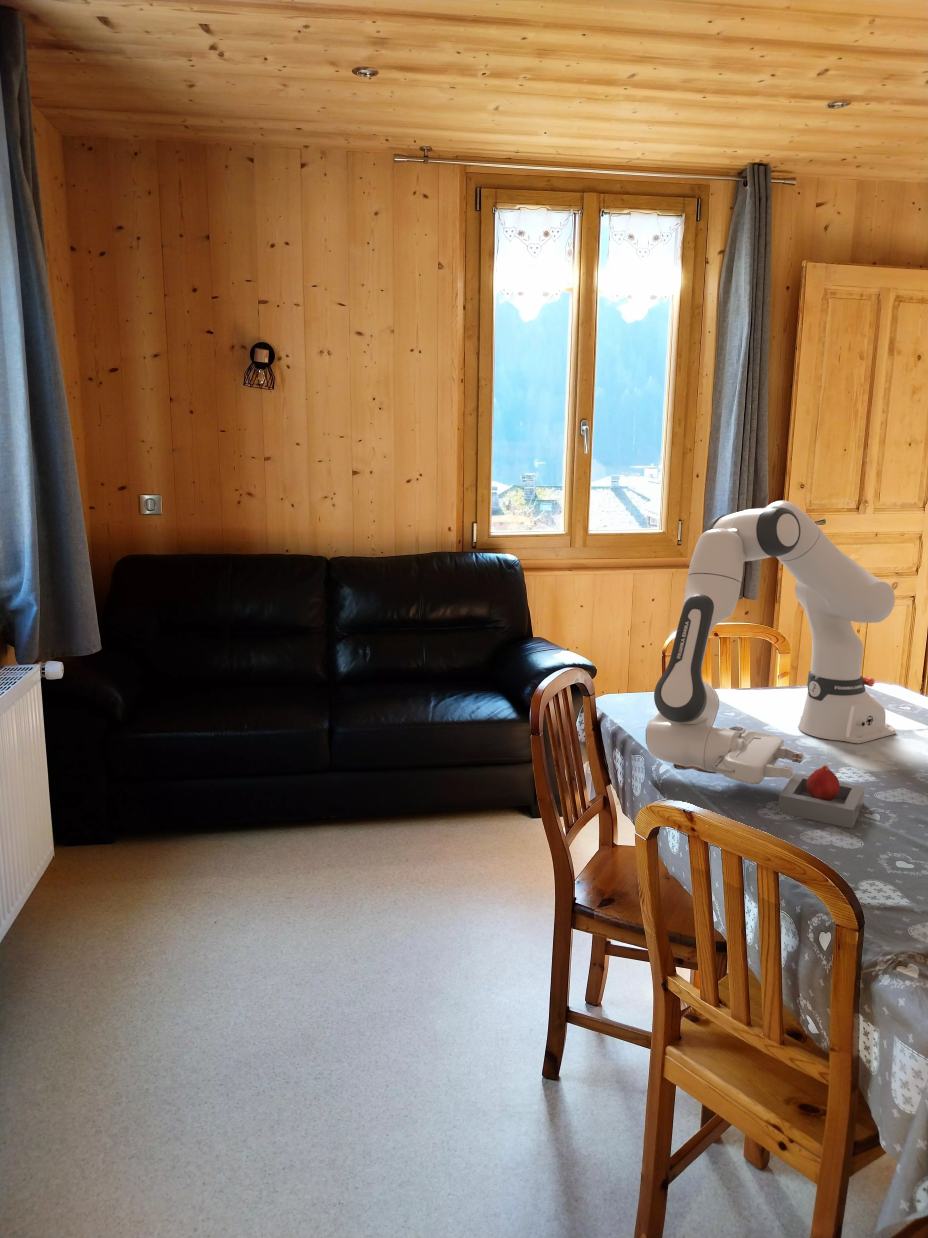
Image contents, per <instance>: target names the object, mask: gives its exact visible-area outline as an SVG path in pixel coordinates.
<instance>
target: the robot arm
mask: <svg viewBox="0 0 928 1238" xmlns="http://www.w3.org/2000/svg"><path fill="white" fill-rule="evenodd" d="M768 558H776V559H777V560H778V561H779V562H780V563H781V564H782V565H783V567H785V568H786V570H787V571H788V572H789V573H790V574H791V575H792V577H794V579H795V580H796V582H795V585H794V595H795V598H796V599H797V601H798V602H799V604H800V605H801V606H802V609H803V610H804V612H805V615H806V617H807V620H808V625H809V629H810V633H811V641H812V642H811V645H812V646H811V659H810V660H811V661H810V670H809V671H808V675H807V682H806V683H807V684H806V686H807V694H806V697H805V702H804V707H803V712H802V715H801V716H800V720H799V724H798V726H797V727H798V729H799V730H800V731H801V732H803V733H804V734H807V735H810V736H812V737H816V738H820V739H825V740H831V741H840V742H841V741H843V742H848V743H851V744H863V743H867V742H869V741H873V740H876V739H878V740H879V739H880V738H884V737H887V736H888V737H889V736H891V735H895V734H896V728H895V727H893V726H892V725H890V724H889V723H887V722H886V721H887V719H886V717H887V716H886V710H885V708H884V706H883V705H882V704H881V703H880V702H879V701H877V700H876V699H875V698H874V697H873V696H871V694H870V693H868V692H867V691H866V686H867V687H870V688H872V687H874V685H875V683H876V680H875V678H873V677H869V676H865V677H864V676H862V667H863V666H862V665H863V658H864V655H863V654H864V644H863V642H862V640H861V639H860V637H859V636H858V635H857V634H856V632H855V630H854V627H853V625H852V622H853V623H858V624H859V623H860V624H861V623H862V624H863V623H864V624H877V623H881V622H882V621H883V622H884V620H886V619H887V617H889V616H890V614H891V613H892V611H893V609H894V607H895V603H896V597H895V592H894V589H893V587H892V585H890V584H889V583H888V582H886V581H884V580H882V579H880V578H878V577H877V576H875V575H874V574H873V573H871V572H870V571H868V570H866V569H865V568H864V567H862V566H861V565H860V564H859V563H858V562H856V561H855V560H853V558H851V557H849V555H847V554H846V553H844V552H843V551H841V550H840V549H839V548H838V546H836V545H835V544H834V543H833V542H832V541H831V539H829V537H828V536H827V535H826V533H824V531H823V529H821V528H820V527H819V526H818V524H816V522H815V521H814V520H813V519H812V518H811V517H810V516H809V515H808V514H807V513H806V512H805V511H804V510H802V509H801V508H799V506H797V505H796V504H794V503H793V502H791V501H788V500H785V499H784V500H783V499H782V500H777V501H774V502H771V503H770V504H768V505H766V506H765V507H758V508H757V507H756V508H747V509H743V510H742V511H741V510H740V511H737V512H733V513H730V514H722V515H720V516H717V517H715V518H713V519H712V520H710V521H709V522H708V524H707V525H706V527H705V530H704V532H703V533H701V535H700V536H699V537H698V540H697V542H696V545H695V548H694V550H693V553H692V556H691V560H690V563H689V567H688V572H687V577H686V582H685V589H684V597H683V604H682V609H681V615H680V617H679V620H678V625H677V629H676V633H675V638H674V642H673V645H672V650H671V654H670V658H669V661H668V664H667V667H666V668H665V670H664V672H663V673H662V675H661V676H660V678H659V679H658V680H657V683H656V685H655V688H654V692H653V693H654V694H653V700H654V701H653V702H654V704H655V705H654V706H655V707H656V709H657V711H658V713H657V715H655V717H653V718H652V719H650V720H649V721H648V723H647V726H646V728H645V744H646V747H647V751H648V752H649V753H650V754H651V756H652V757H655V759H658V760H660V761H663V762H666V763H670V764H673V765H674V764H677V765H682V766H696V767H699V768H701V769H703V770H706V771H711V772H716V773H715V774H721V775H723V776H724V777H725V778H728V779H732V780H734V781H738V782H742V783H746V784H749V785H750V784H751V785H759V784H761V782H762V781H763V780H764V779H765V778H768V779H769V778H770V779H771V778H785V779H791V777H792V776H793V775H794V768H793V767H792V766H788V765H786V766H785V765H783V766H775V764H776V763H777V762H778V761H779V760H780V759H783V760H785V759H786V760H790V761H791V762H792V763H798V764H801V763H803V761H804V757H805V756H804V753H803V752H801V751H796V750H793V749H791V748H789V747H787V746H784V745H785V743H784V742H785V741H784V739H783V738H781V737H779V736H777V735H774V734H770V733H765V732H761V731H757V730H746V727H745V726H741V725H737V726H731V727H728V728H725V727H724V728H723V727H722V728H720V727H719V728H718V727H714V723H715V721H716V718H717V715H718V713H719V708H720V699H719V694H718V693H717V691H716V690H715V688H714V687H713V686H712V685H710V684H709V683H708V682H705V681H704V678H703V675H702V672H703V671H702V669H703V666H704V665H703V664H704V661H705V656H706V652H707V651H706V650H707V646H708V643H709V638H710V636H711V632H712V631H713V629H714V628H715V627H716V626H717V625H718V624H719V623H721V622H724V621H725V620H727V619H729V618H730V617H732V615H733V614H734V611H735V609H736V607H737V604H738V601H739V597H740V592H741V588H742V581H743V575H744V573H743V572H744V563H745V562H752V561H754V562H755V561H757V560H763V559H768ZM865 685H866V686H865Z"/></svg>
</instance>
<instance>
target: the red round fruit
mask: <svg viewBox="0 0 928 1238" xmlns="http://www.w3.org/2000/svg"><path fill="white" fill-rule="evenodd" d="M808 776H809V778H808V780H807V789H808V792H809V794H810V795H811V796H812V797H813V798H816V799H821V800H826V801H831V800H832V799H834V798H835V797H836V796H837V795H838V794H839V791H840V785H839V782H840V781H839V778H838V777H837V775H836V774H835V773H834V772H833V771H832V770H830V769H829V766H828V765H827V764H824V765H822V766H821V767H819V768H817V769H815V770H814V771H813V772H812V773H811V774H810V775H808Z"/></svg>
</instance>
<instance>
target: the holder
mask: <svg viewBox="0 0 928 1238" xmlns="http://www.w3.org/2000/svg"><path fill="white" fill-rule="evenodd" d="M809 776H810V775H807V774H802V773H801V774H800V773H795V772H793V775H792V776H791V778H789V780H788V782H786V785H785V786H784V788H783V789H782V790H781V792H780V793H779V795H778V805H777V813H779V814H784V815H789V816H793V817H797V818H802V819H808V820H811V821H815V822H821V823H825V824H830V825H834V826H839V827H843V828H847V829H853V827H854V825H855V823H856V821H857V818H858V817H859V814H860V812H861V810H862V808H863V805H864V800H865V799H864V798H865V791H866V786H863V785H857V784H852V783H846V782H841V781H839V785H840V791H839V794H838V795H837V796H836V797H835V798H834V799H832V800H831V801H826V800H821V799H816V798H813V797H812V796H811V795H810V794H809V792H808V789H807V780H808V778H809Z"/></svg>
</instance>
